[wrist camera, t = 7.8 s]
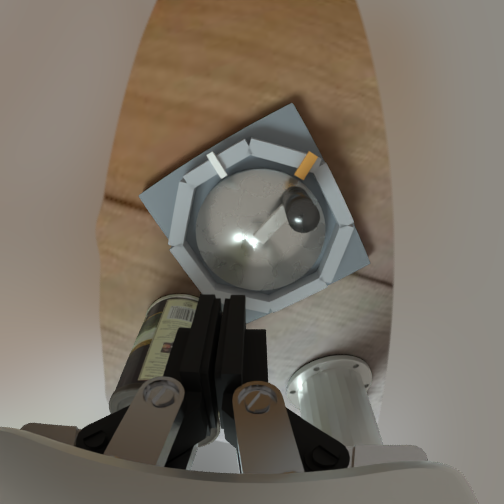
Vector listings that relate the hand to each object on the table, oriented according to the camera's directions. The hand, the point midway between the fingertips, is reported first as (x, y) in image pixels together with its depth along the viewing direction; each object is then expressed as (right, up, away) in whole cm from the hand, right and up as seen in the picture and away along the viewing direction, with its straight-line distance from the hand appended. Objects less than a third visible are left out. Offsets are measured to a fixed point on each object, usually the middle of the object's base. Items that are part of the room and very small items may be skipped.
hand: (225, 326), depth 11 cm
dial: (+2, +5, +18) cm, 18 cm away
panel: (+2, +5, +19) cm, 20 cm away
